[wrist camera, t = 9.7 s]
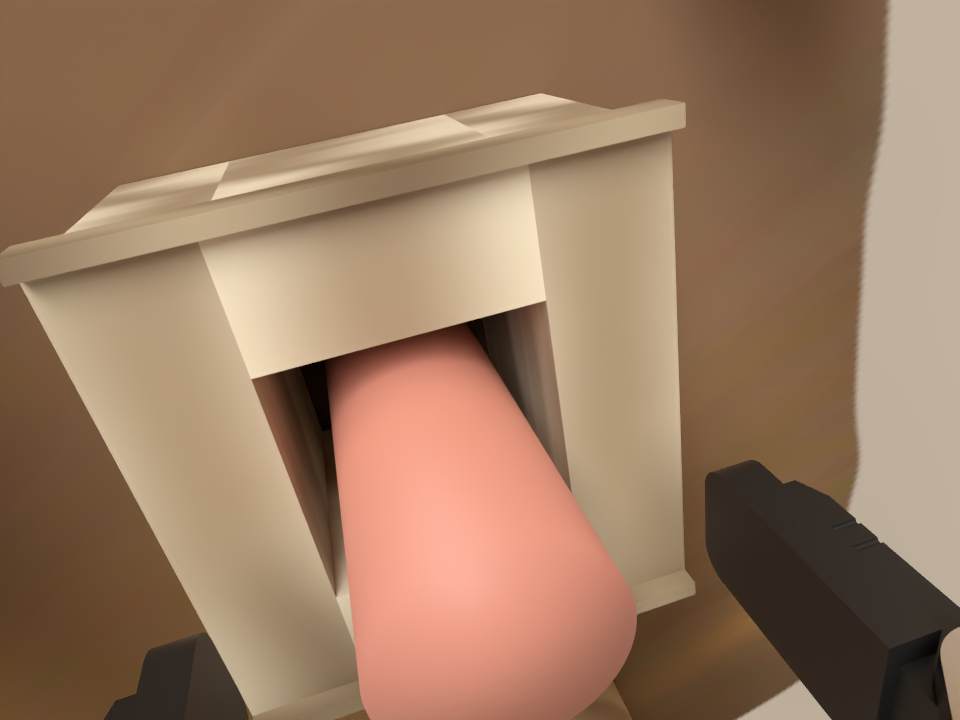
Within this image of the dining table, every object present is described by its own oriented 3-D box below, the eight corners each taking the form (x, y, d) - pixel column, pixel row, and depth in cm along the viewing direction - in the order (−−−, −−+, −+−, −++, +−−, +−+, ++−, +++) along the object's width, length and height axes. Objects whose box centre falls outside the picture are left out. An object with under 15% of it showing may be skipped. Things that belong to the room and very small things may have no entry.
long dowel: (342, 401, 20) (397, 789, 10) (303, 281, 18) (321, 604, 8) (466, 367, 21) (643, 699, 10) (442, 247, 19) (628, 507, 9)
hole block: (267, 531, 22) (257, 746, 15) (111, 169, 16) (-11, 261, 10) (581, 437, 23) (695, 594, 17) (539, 77, 18) (685, 102, 11)
